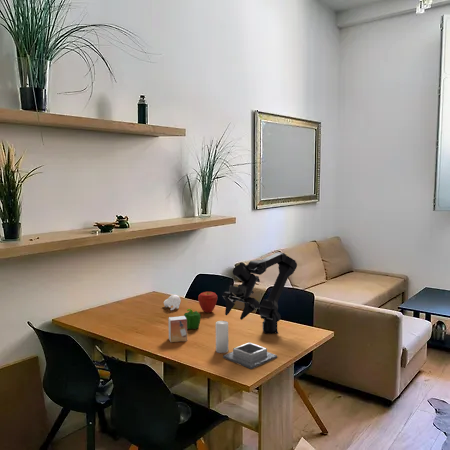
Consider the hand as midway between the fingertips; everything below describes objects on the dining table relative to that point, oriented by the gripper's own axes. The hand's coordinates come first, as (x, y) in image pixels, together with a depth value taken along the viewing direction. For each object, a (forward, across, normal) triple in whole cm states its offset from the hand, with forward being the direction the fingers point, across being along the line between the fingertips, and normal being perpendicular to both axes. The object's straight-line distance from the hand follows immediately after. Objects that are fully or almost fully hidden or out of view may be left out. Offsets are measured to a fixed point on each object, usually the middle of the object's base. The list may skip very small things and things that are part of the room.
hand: (233, 317), depth 194 cm
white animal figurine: (0, -68, +22) cm, 71 cm away
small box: (+18, -24, -1) cm, 30 cm away
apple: (-6, -46, +30) cm, 55 cm away
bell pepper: (+9, -32, +11) cm, 35 cm away
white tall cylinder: (+15, 0, +2) cm, 15 cm away
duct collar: (+13, +14, +5) cm, 20 cm away
